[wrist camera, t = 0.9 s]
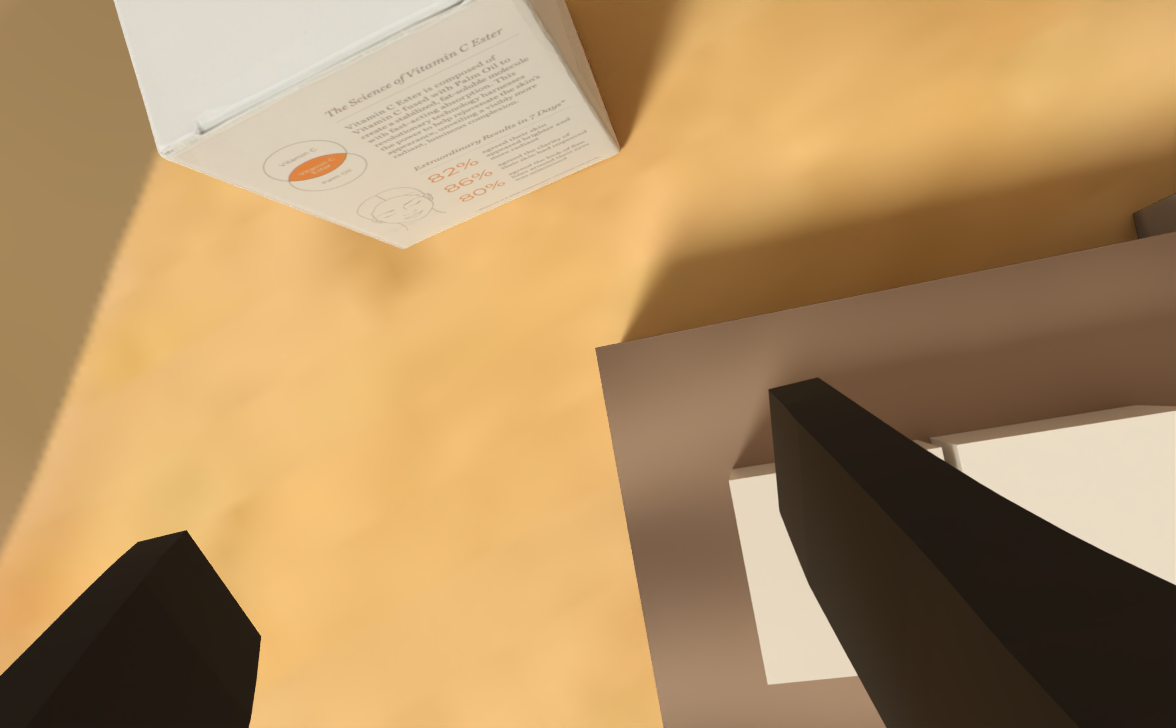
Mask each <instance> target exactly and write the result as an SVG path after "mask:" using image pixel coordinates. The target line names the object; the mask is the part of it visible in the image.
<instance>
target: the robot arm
mask: <svg viewBox="0 0 1176 728" xmlns="http://www.w3.org/2000/svg"><path fill="white" fill-rule="evenodd" d="M768 392H769V403H770V415H771V426H772V437H773V448H774V459H775V470H776V481H777V492H778V503H779V512H780V515H781V517H782V520H783V522H784V525H785V527H786V530H787V532H788V535H789V537H790V540H791V543H792V545H793V548H794V550H795V553H796V555H797V558H798V560H799V562H800V565H801V567H802V570H803V572H804V575H805V577H806V579H807V582H808V584H809V586H810V588H811V590H812V592H813V594H814V596H815V597H816V599H817V601H818V603H819V605H820V607H821V609H822V611H823V612H824V614H825V616H826V618H827V620H828V622H829V623H830V625H831V627H832V629H833V631H834V633H835V635H836V636H837V638H838V640H839V642H840V644H841V646H842V648H843V649H844V651H845V653H846V655H847V657H848V658H849V660H850V662H851V664H852V666H853V668H854V669H855V671H856V673H857V675H858V677H859V679H860V680H861V682H862V684H863V686H864V688H865V690H866V691H867V693H868V695H869V697H870V699H871V701H872V702H873V704H874V706H875V708H876V710H877V712H878V713H879V715H880V717H881V719H882V721H883V723H884V724H885V726H886V728H1176V585H1175V584H1173V583H1170V582H1168V581H1166V580H1164V579H1162V578H1160V577H1158V576H1156V575H1154V574H1152V573H1149V572H1147V571H1145V570H1143V569H1141V568H1139V567H1137V566H1135V565H1133V564H1130V563H1128V562H1126V561H1124V560H1122V559H1120V558H1118V557H1116V556H1114V555H1112V554H1109V553H1107V552H1105V551H1103V550H1101V549H1099V548H1097V547H1095V546H1093V545H1092V544H1090V543H1088V542H1086V541H1084V540H1082V539H1080V538H1078V537H1076V536H1074V535H1072V534H1070V533H1068V532H1066V531H1064V530H1062V529H1061V528H1059V527H1057V526H1055V525H1053V524H1052V523H1050V522H1048V521H1046V520H1044V519H1043V518H1041V517H1039V516H1037V515H1035V514H1033V513H1032V512H1030V511H1028V510H1026V509H1024V508H1023V507H1021V506H1019V505H1017V504H1015V503H1014V502H1012V501H1010V500H1008V499H1006V498H1005V497H1003V496H1001V495H999V494H998V493H996V492H994V491H993V490H991V489H989V488H988V487H986V486H984V485H982V484H981V483H979V482H978V481H976V480H974V479H973V478H971V477H969V476H968V475H966V474H965V473H963V472H961V471H960V470H958V469H957V468H955V467H953V466H952V465H950V464H949V463H947V462H945V461H944V460H942V459H940V458H939V457H937V456H936V455H934V454H932V453H931V452H929V451H928V450H926V449H925V448H923V447H921V446H920V445H918V444H917V443H915V442H914V441H912V440H911V439H909V438H908V437H906V436H905V435H903V434H902V433H900V432H899V431H897V430H896V429H894V428H893V427H891V426H890V425H888V424H887V423H885V422H884V421H882V420H881V419H879V418H878V417H876V416H875V415H873V414H872V413H870V412H869V411H867V410H866V409H864V408H863V407H861V406H860V405H859V404H857V403H856V402H854V401H853V400H851V399H850V398H848V397H847V396H845V395H844V394H842V393H841V392H839V391H838V390H836V389H835V388H833V387H832V386H830V385H829V384H827V383H826V382H824V381H823V380H821V379H820V378H818V377H817V378H813V379H809V380H804V381H800V382H796V383H792V384H788V385H784V386H780V387H776V388H771V389H768ZM260 642H261V636H260V634H259V633H258V631H257V630H256V628H255V627H254V626H253V624H252V623H251V621H250V620H249V618H248V617H247V616H246V614H245V613H244V611H243V610H242V609H241V607H240V606H239V604H238V603H237V601H236V600H235V599H234V597H233V596H232V594H231V593H230V591H229V590H228V589H227V587H226V586H225V584H224V583H223V581H222V580H221V579H220V577H219V576H218V574H217V573H216V572H215V570H214V569H213V567H212V566H211V564H210V563H209V562H208V560H207V559H206V557H205V556H204V554H203V553H202V552H201V550H200V549H199V547H198V546H197V544H196V543H195V542H194V540H193V539H192V537H191V536H190V534H189V533H188V532H187V530H186V531H181V532H177V533H173V534H169V535H165V536H161V537H157V538H153V539H148V540H144V541H140V542H137V543H136V544H135V545H134V546H133V547H132V548H130V549H129V550H128V551H127V552H126V553H125V554H124V555H122V556H121V557H120V558H119V559H118V560H117V561H116V562H115V563H114V564H113V565H111V566H110V567H109V568H108V569H107V570H106V571H105V572H104V573H103V574H102V575H101V576H100V577H99V578H98V579H97V580H96V581H95V582H94V583H93V584H92V585H91V586H90V587H89V588H88V589H87V590H86V591H85V592H84V593H82V594H81V595H80V596H79V597H78V598H77V599H76V600H75V601H74V602H73V603H72V604H71V605H70V606H69V607H68V608H67V609H66V610H65V611H64V612H63V613H62V614H61V615H60V617H59V618H58V619H57V620H56V621H55V622H54V623H53V624H52V625H51V626H50V627H49V628H48V629H47V630H46V631H45V632H44V633H43V634H42V635H41V636H40V637H39V638H38V639H37V640H36V641H35V642H34V643H33V644H32V645H31V646H30V647H29V648H28V649H27V650H26V651H25V652H24V653H23V654H22V655H21V656H20V657H19V658H18V659H17V660H16V661H15V662H14V663H13V664H12V665H11V666H10V667H9V668H8V669H7V670H6V671H5V672H4V673H3V674H2V675H1V676H0V728H249V724H250V720H251V714H252V707H253V700H254V693H255V686H256V679H257V670H258V661H259V651H260Z"/></svg>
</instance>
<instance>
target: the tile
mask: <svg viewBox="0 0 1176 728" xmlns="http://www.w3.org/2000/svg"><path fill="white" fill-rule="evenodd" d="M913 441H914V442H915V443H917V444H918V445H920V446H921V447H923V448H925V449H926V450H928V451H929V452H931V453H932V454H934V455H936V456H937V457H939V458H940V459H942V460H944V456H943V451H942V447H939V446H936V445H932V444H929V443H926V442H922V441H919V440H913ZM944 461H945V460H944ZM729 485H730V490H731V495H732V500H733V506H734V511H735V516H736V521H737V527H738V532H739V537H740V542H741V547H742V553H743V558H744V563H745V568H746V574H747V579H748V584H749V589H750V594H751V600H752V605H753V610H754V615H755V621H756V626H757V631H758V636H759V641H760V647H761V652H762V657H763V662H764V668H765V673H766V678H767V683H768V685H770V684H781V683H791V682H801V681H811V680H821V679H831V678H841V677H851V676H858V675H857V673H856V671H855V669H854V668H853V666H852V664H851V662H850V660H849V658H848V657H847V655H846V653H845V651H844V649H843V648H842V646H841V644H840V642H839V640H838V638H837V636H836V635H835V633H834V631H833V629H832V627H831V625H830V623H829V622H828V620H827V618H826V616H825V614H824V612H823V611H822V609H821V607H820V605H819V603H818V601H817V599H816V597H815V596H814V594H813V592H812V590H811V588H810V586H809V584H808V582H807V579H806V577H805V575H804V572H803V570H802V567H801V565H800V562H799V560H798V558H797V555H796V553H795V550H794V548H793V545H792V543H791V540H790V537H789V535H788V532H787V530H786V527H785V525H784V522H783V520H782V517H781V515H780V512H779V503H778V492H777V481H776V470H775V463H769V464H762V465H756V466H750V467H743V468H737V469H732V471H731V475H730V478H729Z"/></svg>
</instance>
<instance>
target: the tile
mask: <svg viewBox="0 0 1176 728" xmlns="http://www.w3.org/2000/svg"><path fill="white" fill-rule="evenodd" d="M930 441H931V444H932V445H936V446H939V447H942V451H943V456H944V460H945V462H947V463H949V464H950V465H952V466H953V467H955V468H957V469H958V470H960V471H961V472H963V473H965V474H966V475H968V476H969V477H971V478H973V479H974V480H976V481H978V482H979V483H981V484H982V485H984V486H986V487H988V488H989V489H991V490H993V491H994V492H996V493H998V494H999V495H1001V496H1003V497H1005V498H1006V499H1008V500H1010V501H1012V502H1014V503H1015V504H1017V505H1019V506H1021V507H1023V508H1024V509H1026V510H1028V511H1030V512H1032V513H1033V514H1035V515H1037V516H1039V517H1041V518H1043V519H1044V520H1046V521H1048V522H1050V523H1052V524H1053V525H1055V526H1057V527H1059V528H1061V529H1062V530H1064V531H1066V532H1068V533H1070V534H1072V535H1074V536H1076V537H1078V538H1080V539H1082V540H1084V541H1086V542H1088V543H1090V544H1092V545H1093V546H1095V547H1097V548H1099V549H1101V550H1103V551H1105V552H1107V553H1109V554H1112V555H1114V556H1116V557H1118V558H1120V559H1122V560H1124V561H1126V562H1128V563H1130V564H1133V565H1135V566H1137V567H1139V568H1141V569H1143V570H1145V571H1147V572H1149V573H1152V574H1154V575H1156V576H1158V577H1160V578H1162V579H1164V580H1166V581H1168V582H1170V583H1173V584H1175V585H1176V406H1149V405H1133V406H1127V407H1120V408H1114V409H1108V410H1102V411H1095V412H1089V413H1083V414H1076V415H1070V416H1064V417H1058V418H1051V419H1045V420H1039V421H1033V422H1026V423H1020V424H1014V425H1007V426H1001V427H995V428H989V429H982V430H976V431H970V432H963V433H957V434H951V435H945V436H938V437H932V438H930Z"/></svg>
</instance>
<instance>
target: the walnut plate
mask: <svg viewBox="0 0 1176 728" xmlns="http://www.w3.org/2000/svg"><path fill="white" fill-rule="evenodd" d="M595 349H596V355H597V360H598V366H599V371H600V377H601V383H602V388H603V394H604V399H605V405H606V410H607V416H608V421H609V427H610V432H611V438H612V444H613V449H614V455H615V460H616V466H617V471H618V477H619V482H620V488H621V493H622V499H623V505H624V510H625V516H626V521H627V527H628V532H629V538H630V543H631V549H632V554H633V560H634V565H635V571H636V577H637V582H638V588H639V593H640V599H641V604H642V610H643V615H644V621H645V626H646V632H647V638H648V643H649V649H650V654H651V660H652V665H653V671H654V676H655V682H656V687H657V693H658V699H659V704H660V710H661V715H662V721H663V726H664V728H886V726H885V724H884V723H883V721H882V719H881V717H880V715H879V713H878V712H877V710H876V708H875V706H874V704H873V702H872V701H871V699H870V697H869V695H868V693H867V691H866V690H865V688H864V686H863V684H862V682H861V680H860V679H859V677H858V676H851V677H841V678H831V679H821V680H811V681H801V682H791V683H781V684H770V685H768V683H767V678H766V673H765V668H764V662H763V657H762V652H761V647H760V641H759V636H758V631H757V626H756V621H755V615H754V610H753V605H752V600H751V594H750V589H749V584H748V579H747V574H746V568H745V563H744V558H743V553H742V547H741V542H740V537H739V532H738V527H737V521H736V516H735V511H734V506H733V500H732V495H731V490H730V485H729V478H730V475H731V471H732V469H737V468H743V467H750V466H756V465H762V464H769V463H775V459H774V448H773V437H772V426H771V415H770V403H769V392H768V389H771V388H776V387H780V386H784V385H788V384H792V383H796V382H800V381H804V380H809V379H813V378H817V377H818V378H820V379H821V380H823V381H824V382H826V383H827V384H829V385H830V386H832V387H833V388H835V389H836V390H838V391H839V392H841V393H842V394H844V395H845V396H847V397H848V398H850V399H851V400H853V401H854V402H856V403H857V404H859V405H860V406H861V407H863V408H864V409H866V410H867V411H869V412H870V413H872V414H873V415H875V416H876V417H878V418H879V419H881V420H882V421H884V422H885V423H887V424H888V425H890V426H891V427H893V428H894V429H896V430H897V431H899V432H900V433H902V434H903V435H905V436H906V437H908V438H909V439H911V440H912V441H913V440H919V441H922V442H926V443H929V444H931V441H930V438H932V437H938V436H945V435H951V434H957V433H963V432H970V431H976V430H982V429H989V428H995V427H1001V426H1007V425H1014V424H1020V423H1026V422H1033V421H1039V420H1045V419H1051V418H1058V417H1064V416H1070V415H1076V414H1083V413H1089V412H1095V411H1102V410H1108V409H1114V408H1120V407H1127V406H1133V405H1149V406H1176V232H1172V233H1167V234H1162V235H1157V236H1152V237H1147V238H1142V239H1137V240H1132V241H1127V242H1122V243H1117V244H1112V245H1107V246H1102V247H1097V248H1092V249H1087V250H1082V251H1077V252H1072V253H1067V254H1062V255H1057V256H1052V257H1047V258H1042V259H1037V260H1032V261H1027V262H1022V263H1017V264H1012V265H1007V266H1002V267H997V268H992V269H987V270H982V271H977V272H972V273H967V274H962V275H957V276H952V277H947V278H942V279H937V280H932V281H927V282H922V283H917V284H912V285H907V286H902V287H897V288H892V289H887V290H882V291H877V292H872V293H867V294H862V295H857V296H852V297H847V298H842V299H837V300H832V301H827V302H822V303H817V304H812V305H807V306H802V307H797V308H792V309H787V310H782V311H777V312H772V313H767V314H762V315H757V316H752V317H747V318H742V319H737V320H732V321H727V322H722V323H717V324H712V325H707V326H702V327H697V328H692V329H687V330H682V331H677V332H672V333H667V334H662V335H657V336H652V337H647V338H642V339H637V340H632V341H627V342H622V343H617V344H612V345H607V346H602V347H597V348H595Z"/></svg>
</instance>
